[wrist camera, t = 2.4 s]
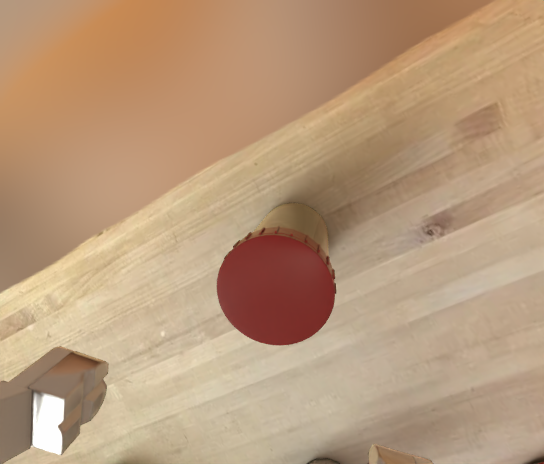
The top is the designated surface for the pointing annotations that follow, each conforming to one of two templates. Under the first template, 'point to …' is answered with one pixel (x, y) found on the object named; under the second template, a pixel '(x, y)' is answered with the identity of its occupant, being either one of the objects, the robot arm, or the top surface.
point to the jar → (298, 222)
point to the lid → (277, 286)
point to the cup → (323, 461)
